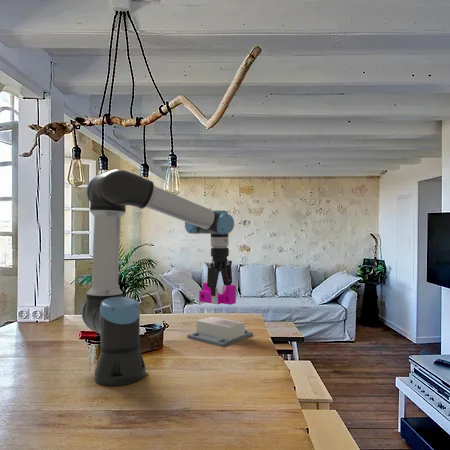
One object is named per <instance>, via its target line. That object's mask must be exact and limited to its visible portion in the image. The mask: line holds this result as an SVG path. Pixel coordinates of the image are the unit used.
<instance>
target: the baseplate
mask: <svg viewBox="0 0 450 450" xmlns="http://www.w3.org/2000/svg"><path fill="white" fill-rule="evenodd" d="M195 323H196V331H194V332H192V333H189V334H187V335H186V338H187V339H191V340H193V341H198V342H202V343H205V344H210V345H214V346H217V347H222V348H223V347H226V346H229V345H231V344H233V343H236V342H238V341H241V340H243V339H246V338H249V337H251V336H253V335H254V333H253V331H248V330H247V329H245V328H246V326H245V325H246V323H245V321H238V320H232V319H227V318H224V317H223V318H222V317H219V316H218V317H217V316H209V317H205V318H201V319H197V320H196V322H195Z"/></svg>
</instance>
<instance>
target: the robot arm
mask: <svg viewBox="0 0 450 450" xmlns="http://www.w3.org/2000/svg"><path fill="white" fill-rule="evenodd" d="M85 193H86V197H87V200H88V201H89V212H90V213H91V214H92V215H93V216H94V219H93V221H94V222H93V223H94V224H93V240H92V241H93V244H92V246H93V247H92V265H91V266H92V267H91V269H92V270H91V272H92V273H91V288H89V290H87V292H86V301H85V302H84V304H83V305H82V308H81V318H82V321H83V322H84V324H85V325H86V327H87V328H89V329H90V330H91V331H93V332H95V333H97V334H98V335H100V352H99V353H100V354H99V357H98V360H97V363H96V367H95V370H94V381H95V383H97V384H99V385H102V386H108V387H109V386H114V387H115V386H124V385H129V384H133V383H135V382H136V383H137V382H138V381H140V380H141V379H143V378H144V377H145V375H146V364H145V361H144V358H143V355H142V352H141V349H140V343H141V341H140V340H141V339H140V333H141V332H140V331H141V330H140V328H141V327H140V326H141V325H140V323H141V321H140V319H141V318H140V317H141V311H140V304H139V302H138V301H137V300H136V299H134V298H132V297H125V296H123V291H122V290H121V289H120V287H119V273H120V272H119V271H120V269H119V268H120V250H121V249H120V246H121V244H120V243H121V218H122V217H123V216H124V215H125V214H126V207H127V206H129V207H130V206H132V207H136V208H138V209H140V210H141V209H142V210H143V209H146V208H148V209H150V210H152V211H156V212H158V213H161V214H164V215H166V216H168V217H172V218H174V219H177V220H179V221H181V222H184V229H185V231H186V232H187V234H193V235H198V234H199V235H200V234H201V235H203V234H205V235H206V234H207V235H208V234H209V235H210V257H211V258H212V260H211V261H210V262H207V264H206V266H207V277H206V278H207V279H206V281H207V282H206V283H207V287H209V288H211V296H212V303H211V304H213V305H219V304H218V293H219V291H218V290H219V288H218V287H217V285H218V280H219V276H220V274H221V277H222V283H223V285H222V286H221V291H222V292H221V294H223V293H224V292H225V290H226V286H228V285H232V284H233V271H232V269H233V268H232V265H233V261H232V260H229V259H228V257H229V255H230V251H229V250H230V249H229V234H230V233H231V232H232V231H233V230H234V227H235V219H234V217H233V216H232V215H231V214H229V213H228V211H227V210H212V209H210V208H208V207H205V206H203V205H200V204H198V203H196V202H194V201H191V200H189V199H186V198H184V197H182V196H179V195H177V194H175V193H173V192H170V191H168V190H166V189H163V188H161V187H158V186H156V185H155V183H154V181H153V180H150V179H147V178H145V177H142V176H141V175H138V174H136V173H133V172H131V171H128V170H125V169H112V170H109V171H107V172H101V173H99V174H96V175H95V176H94V177H93V178H92V179H90V180H89V182H88V184H87V187H86V192H85Z"/></svg>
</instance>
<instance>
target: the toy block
mask: <svg viewBox="0 0 450 450" xmlns="http://www.w3.org/2000/svg"><path fill="white" fill-rule="evenodd" d="M236 290H237V285H236V284H231V285H228V286H226V290H225V292H224V293H223V294H222V293H220V292H218V304H217V305H221V304H223V305H231V306H232V305H234V304H237V296H236V295H237V292H236ZM198 300H199V302H200V303H207V304H212V296H211V288H209V287H207V282H203V283H202V289H201V290H199V291H198Z"/></svg>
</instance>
